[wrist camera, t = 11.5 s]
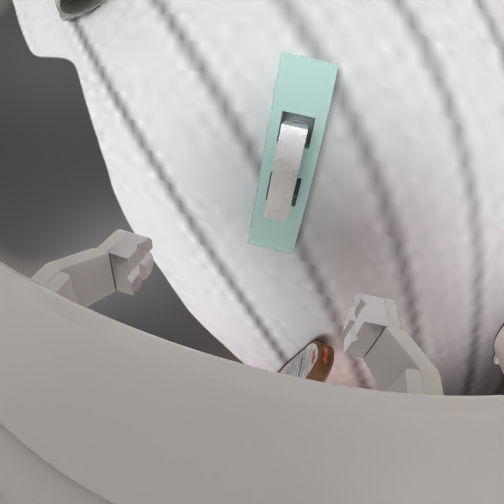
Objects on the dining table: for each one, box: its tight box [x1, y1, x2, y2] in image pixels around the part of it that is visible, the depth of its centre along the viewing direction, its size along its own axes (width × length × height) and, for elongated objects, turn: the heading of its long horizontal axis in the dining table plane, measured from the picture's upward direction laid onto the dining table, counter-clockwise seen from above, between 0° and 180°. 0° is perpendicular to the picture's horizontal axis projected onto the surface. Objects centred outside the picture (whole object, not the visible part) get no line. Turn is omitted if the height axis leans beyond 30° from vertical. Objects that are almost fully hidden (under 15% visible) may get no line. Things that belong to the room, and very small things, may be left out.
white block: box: [264, 119, 309, 222], centre depth 25 cm, size 8×2×8 cm, turn 171°
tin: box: [279, 341, 334, 382], centre depth 41 cm, size 15×3×8 cm, turn 154°
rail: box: [248, 53, 338, 254], centre depth 27 cm, size 5×20×3 cm, turn 171°
